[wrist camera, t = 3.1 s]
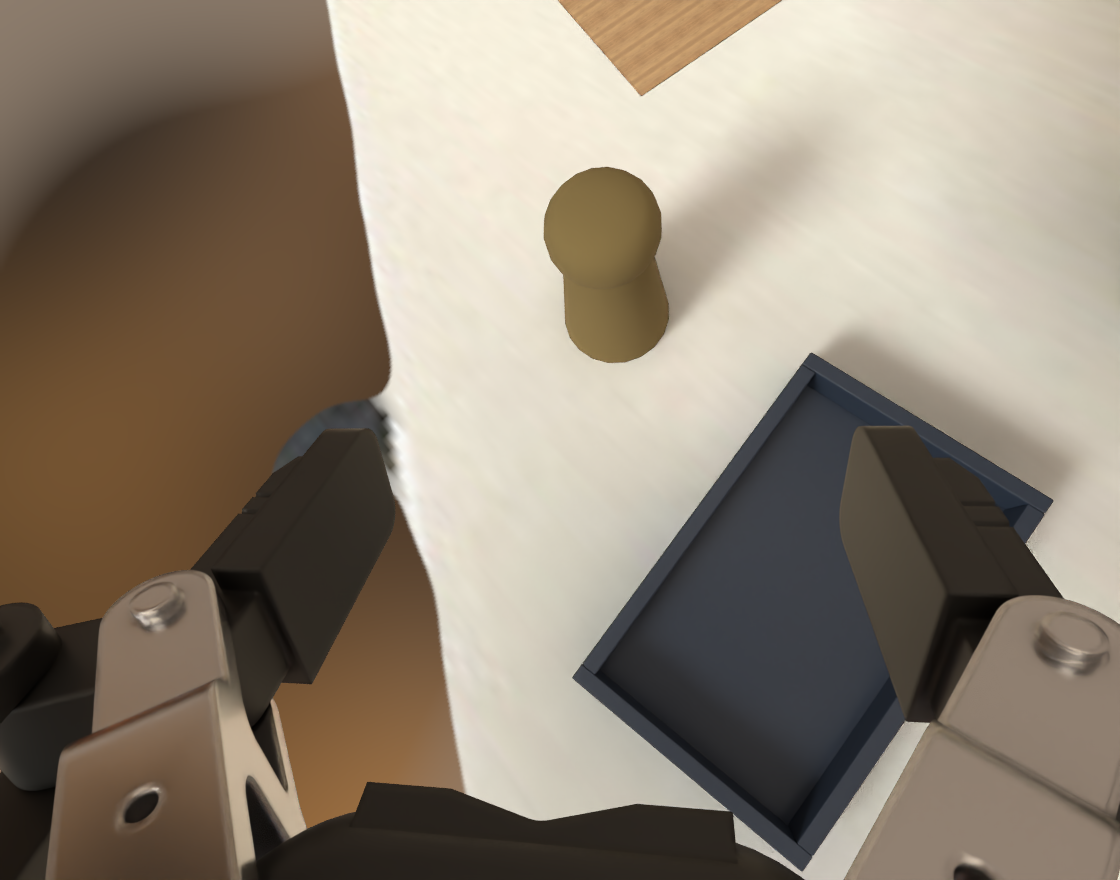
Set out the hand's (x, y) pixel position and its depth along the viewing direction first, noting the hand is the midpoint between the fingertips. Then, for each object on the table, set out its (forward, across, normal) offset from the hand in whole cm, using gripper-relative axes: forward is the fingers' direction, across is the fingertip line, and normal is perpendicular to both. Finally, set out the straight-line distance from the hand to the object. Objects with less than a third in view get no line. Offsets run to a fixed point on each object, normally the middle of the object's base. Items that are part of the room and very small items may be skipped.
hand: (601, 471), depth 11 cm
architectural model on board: (+47, -6, -12) cm, 49 cm away
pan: (+16, -8, +18) cm, 25 cm away
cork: (+27, +2, +8) cm, 28 cm away
